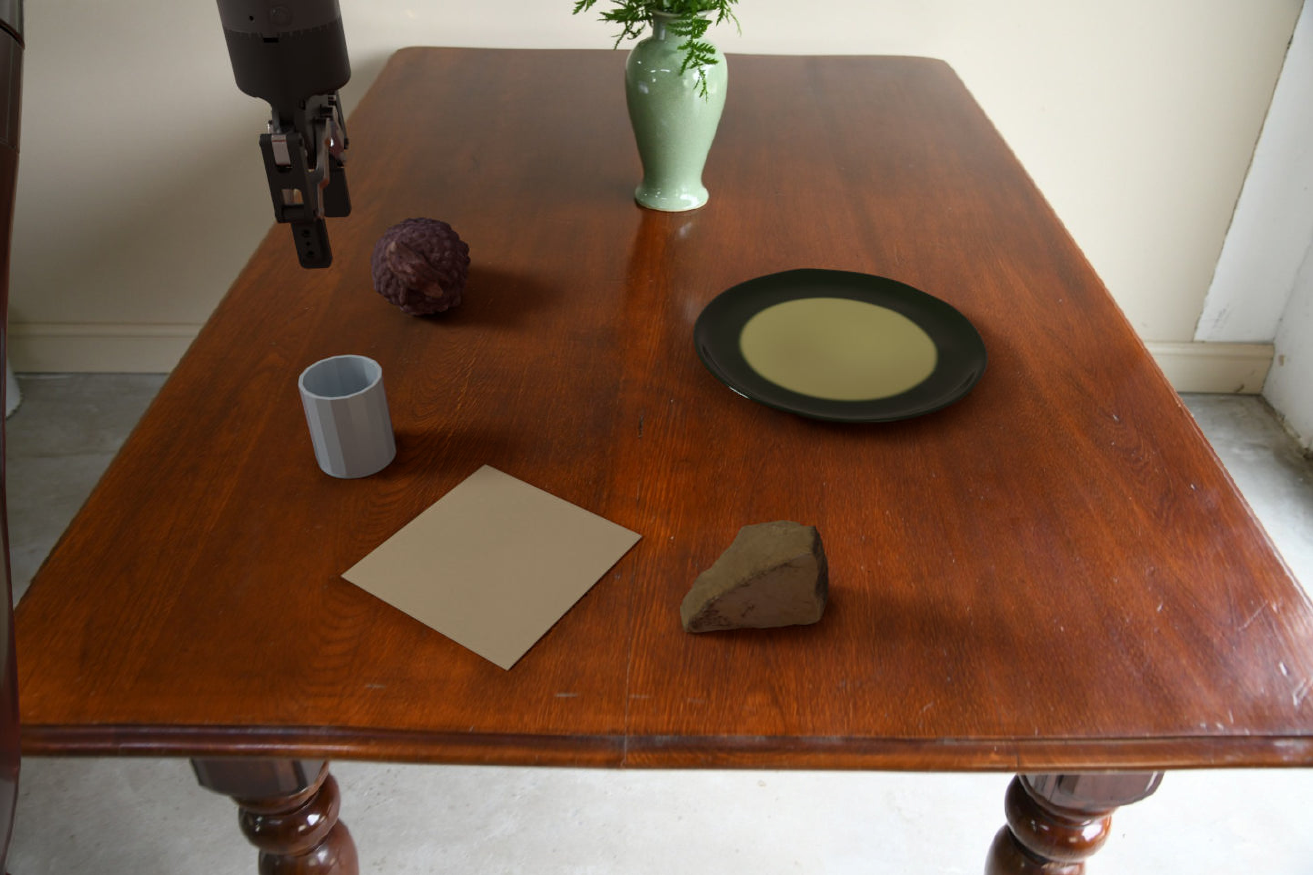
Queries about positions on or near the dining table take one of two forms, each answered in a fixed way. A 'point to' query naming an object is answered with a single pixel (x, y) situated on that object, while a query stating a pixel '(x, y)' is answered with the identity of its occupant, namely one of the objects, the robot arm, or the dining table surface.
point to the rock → (761, 581)
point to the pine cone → (420, 266)
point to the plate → (840, 346)
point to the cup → (348, 415)
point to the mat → (493, 563)
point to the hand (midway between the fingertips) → (327, 240)
